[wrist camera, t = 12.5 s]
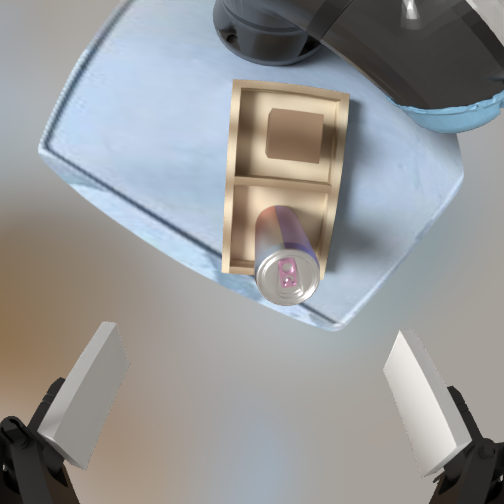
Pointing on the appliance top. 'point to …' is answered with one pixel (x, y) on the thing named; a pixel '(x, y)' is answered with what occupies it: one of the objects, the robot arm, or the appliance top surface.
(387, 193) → the appliance top surface
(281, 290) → the beverage can
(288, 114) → the walnut block
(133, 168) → the appliance top surface
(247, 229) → the rack
